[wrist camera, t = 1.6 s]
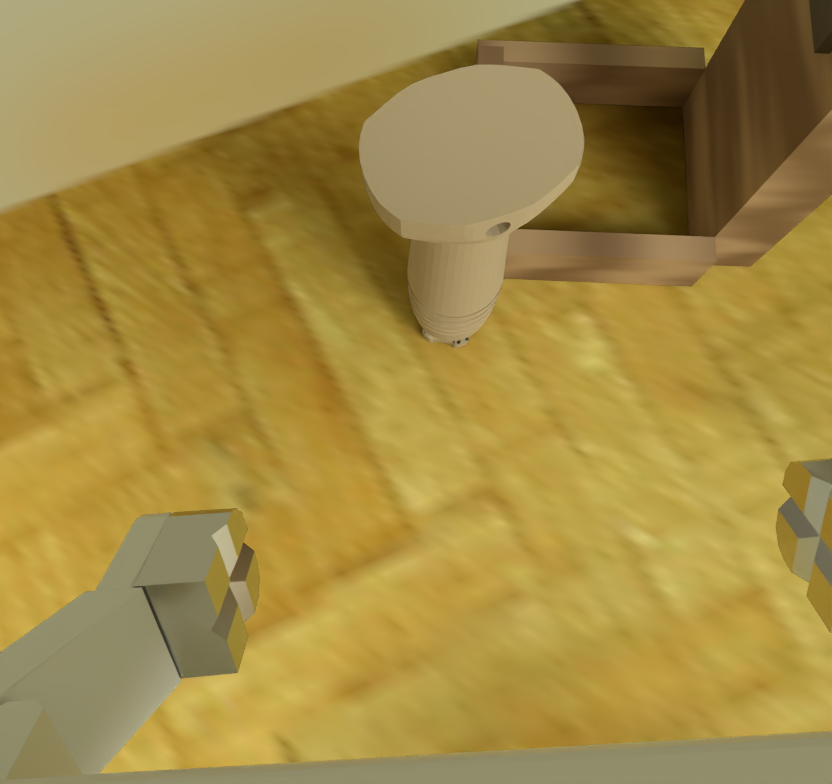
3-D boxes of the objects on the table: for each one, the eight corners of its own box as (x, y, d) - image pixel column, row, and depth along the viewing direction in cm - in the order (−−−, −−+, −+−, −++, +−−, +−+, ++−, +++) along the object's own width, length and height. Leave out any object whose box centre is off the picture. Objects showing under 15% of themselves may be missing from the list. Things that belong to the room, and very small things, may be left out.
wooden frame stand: (467, 276, 35) (542, -174, 13) (473, 80, 37) (544, -558, 16) (752, 288, 35) (1290, -150, 13) (738, 89, 37) (1166, -543, 16)
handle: (527, 343, 34) (608, 181, 19) (403, 384, 34) (391, 250, 19) (493, 257, 35) (546, 41, 20) (372, 296, 35) (338, 104, 20)
